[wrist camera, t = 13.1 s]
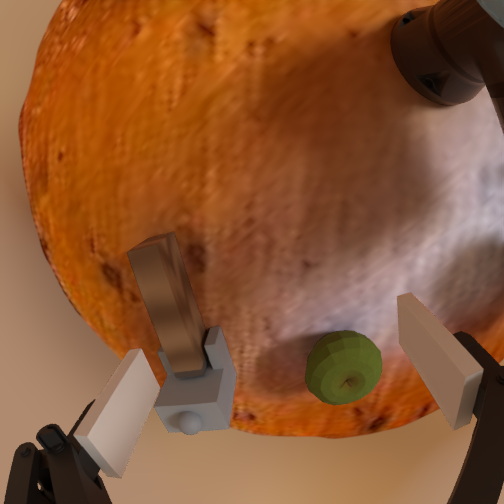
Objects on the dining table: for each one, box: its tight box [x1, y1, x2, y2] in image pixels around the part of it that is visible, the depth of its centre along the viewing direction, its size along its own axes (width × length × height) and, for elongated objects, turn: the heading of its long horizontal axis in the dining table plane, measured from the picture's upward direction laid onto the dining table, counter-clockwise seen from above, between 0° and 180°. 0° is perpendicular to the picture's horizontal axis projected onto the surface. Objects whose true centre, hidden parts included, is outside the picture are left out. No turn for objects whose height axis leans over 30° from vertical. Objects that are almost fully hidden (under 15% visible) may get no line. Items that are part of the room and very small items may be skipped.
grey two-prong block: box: [154, 326, 237, 435], centre depth 39 cm, size 9×8×14 cm
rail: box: [127, 232, 209, 378], centre depth 40 cm, size 18×4×7 cm, turn 14°
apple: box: [305, 330, 382, 405], centre depth 40 cm, size 11×10×10 cm
